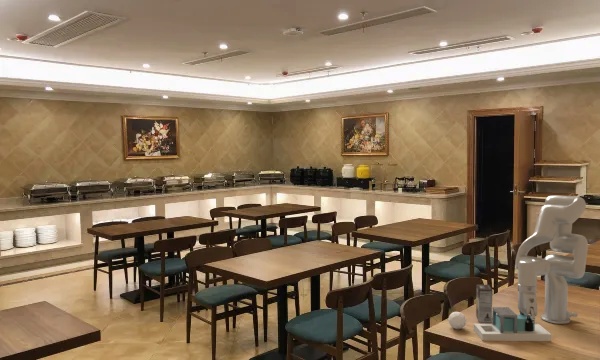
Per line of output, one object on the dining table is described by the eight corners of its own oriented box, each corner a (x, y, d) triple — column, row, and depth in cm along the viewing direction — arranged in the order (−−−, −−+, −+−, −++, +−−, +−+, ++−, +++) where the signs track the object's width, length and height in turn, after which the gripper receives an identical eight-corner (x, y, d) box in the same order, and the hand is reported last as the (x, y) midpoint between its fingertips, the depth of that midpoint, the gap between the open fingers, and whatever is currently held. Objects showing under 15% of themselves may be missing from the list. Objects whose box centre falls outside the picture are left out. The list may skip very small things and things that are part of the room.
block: (529, 326, 216) (529, 314, 216) (534, 331, 211) (534, 318, 211) (495, 326, 217) (495, 314, 216) (499, 330, 212) (499, 318, 211)
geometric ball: (459, 335, 221) (461, 326, 216) (444, 325, 226) (445, 316, 221) (468, 324, 225) (470, 314, 220) (453, 315, 230) (454, 305, 225)
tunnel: (508, 324, 219) (508, 307, 219) (517, 333, 209) (517, 315, 208) (492, 324, 220) (492, 307, 219) (500, 333, 209) (500, 315, 209)
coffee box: (475, 315, 240) (475, 283, 238) (489, 316, 238) (489, 284, 237) (478, 322, 231) (478, 289, 229) (492, 323, 229) (493, 289, 228)
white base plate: (538, 330, 219) (538, 324, 219) (550, 341, 207) (551, 334, 207) (473, 330, 221) (473, 323, 221) (482, 340, 209) (482, 333, 209)
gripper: (544, 294, 204) (543, 336, 205) (527, 282, 221) (526, 321, 222) (526, 294, 204) (525, 336, 205) (510, 282, 221) (510, 321, 222)
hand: (526, 328), depth 214 cm, fingers closed on block, 5 cm apart
